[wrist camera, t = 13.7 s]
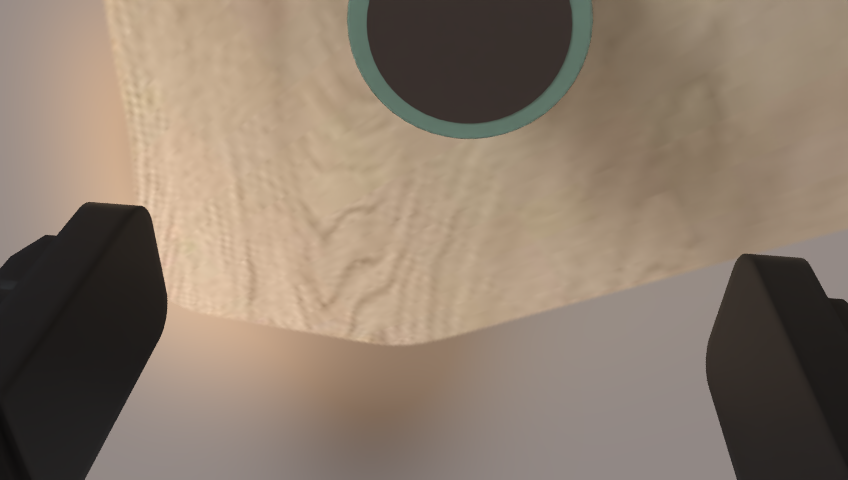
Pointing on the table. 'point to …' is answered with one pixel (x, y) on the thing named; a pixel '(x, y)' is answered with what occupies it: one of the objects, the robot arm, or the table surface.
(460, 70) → the cup
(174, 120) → the table surface
